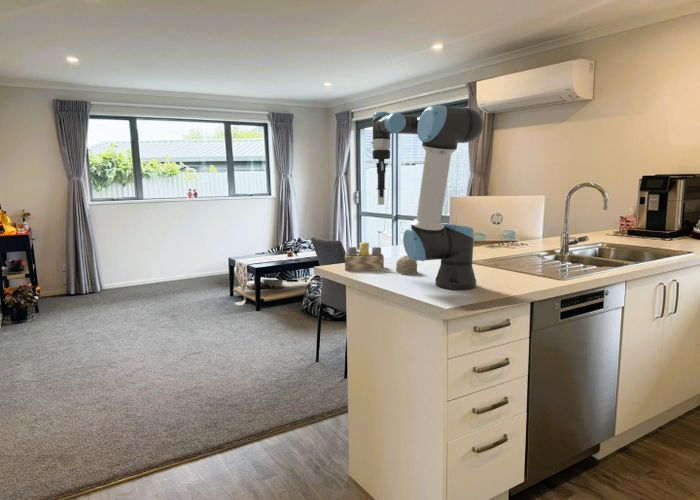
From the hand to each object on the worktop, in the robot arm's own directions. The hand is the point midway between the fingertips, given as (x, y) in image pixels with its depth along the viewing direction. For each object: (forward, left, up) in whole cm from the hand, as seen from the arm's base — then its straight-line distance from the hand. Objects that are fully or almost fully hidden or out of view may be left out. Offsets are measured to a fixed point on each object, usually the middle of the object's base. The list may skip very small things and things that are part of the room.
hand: (381, 204), depth 205 cm
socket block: (+4, +6, -29) cm, 30 cm away
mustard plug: (+4, +6, -26) cm, 27 cm away
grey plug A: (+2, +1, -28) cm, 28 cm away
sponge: (-11, -7, -29) cm, 32 cm away
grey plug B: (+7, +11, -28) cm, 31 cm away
